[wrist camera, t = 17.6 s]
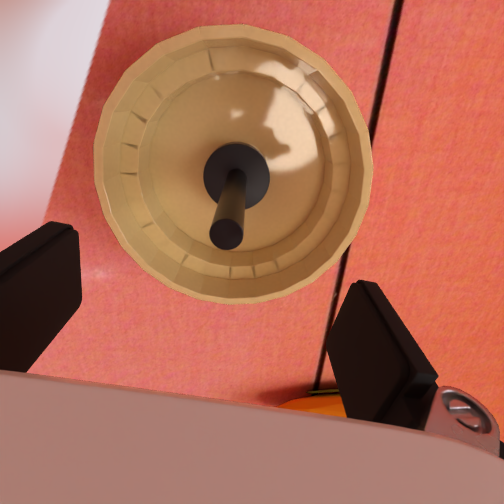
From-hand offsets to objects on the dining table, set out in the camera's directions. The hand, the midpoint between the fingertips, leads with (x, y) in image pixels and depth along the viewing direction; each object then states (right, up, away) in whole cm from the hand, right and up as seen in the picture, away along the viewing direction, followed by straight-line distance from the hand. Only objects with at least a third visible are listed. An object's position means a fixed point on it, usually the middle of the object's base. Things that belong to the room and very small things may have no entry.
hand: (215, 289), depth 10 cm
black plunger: (0, +9, +18) cm, 20 cm away
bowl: (0, +9, +18) cm, 20 cm away
